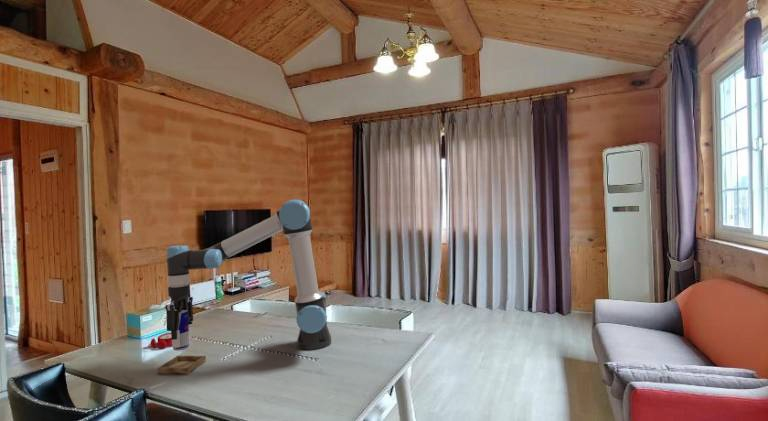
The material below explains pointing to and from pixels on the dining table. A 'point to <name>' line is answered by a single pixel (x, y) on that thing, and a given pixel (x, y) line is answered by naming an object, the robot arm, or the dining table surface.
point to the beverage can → (183, 330)
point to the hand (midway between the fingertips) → (181, 344)
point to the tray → (181, 365)
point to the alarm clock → (162, 341)
